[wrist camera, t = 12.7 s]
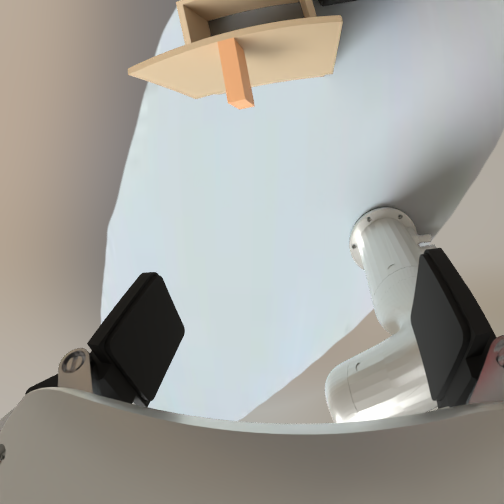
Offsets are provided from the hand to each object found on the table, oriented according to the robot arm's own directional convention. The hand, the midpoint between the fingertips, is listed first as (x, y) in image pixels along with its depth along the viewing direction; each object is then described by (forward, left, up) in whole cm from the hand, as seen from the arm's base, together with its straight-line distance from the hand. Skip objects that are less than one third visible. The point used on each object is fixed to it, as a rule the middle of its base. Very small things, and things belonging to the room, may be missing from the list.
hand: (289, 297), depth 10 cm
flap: (+3, -11, -19) cm, 23 cm away
